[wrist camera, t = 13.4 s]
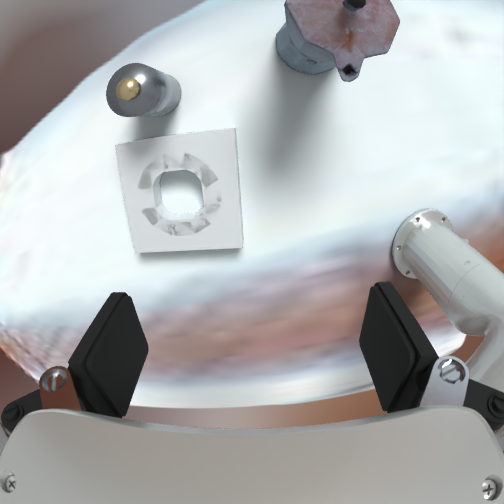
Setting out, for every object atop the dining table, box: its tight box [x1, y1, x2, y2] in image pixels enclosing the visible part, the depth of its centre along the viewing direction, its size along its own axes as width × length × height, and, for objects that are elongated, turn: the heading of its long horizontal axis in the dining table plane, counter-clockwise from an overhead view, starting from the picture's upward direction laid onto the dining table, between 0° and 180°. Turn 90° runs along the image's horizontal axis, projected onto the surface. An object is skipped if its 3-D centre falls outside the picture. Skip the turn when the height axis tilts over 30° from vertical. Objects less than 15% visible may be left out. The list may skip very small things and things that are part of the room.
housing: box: [115, 128, 244, 253], centre depth 38 cm, size 16×16×3 cm
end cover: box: [106, 63, 181, 117], centre depth 28 cm, size 6×6×11 cm
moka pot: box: [276, 0, 400, 82], centre depth 21 cm, size 10×15×20 cm, turn 6°
